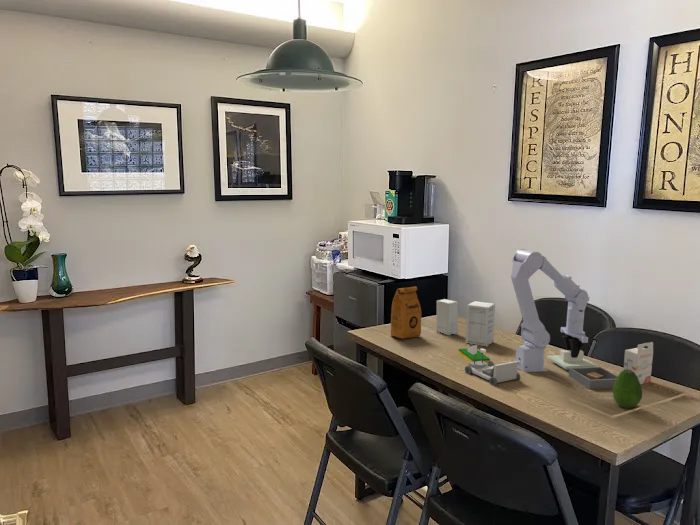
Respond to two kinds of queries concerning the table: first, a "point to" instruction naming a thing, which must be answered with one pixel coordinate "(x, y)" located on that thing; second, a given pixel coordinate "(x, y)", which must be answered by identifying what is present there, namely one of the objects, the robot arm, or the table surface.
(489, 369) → the toy car
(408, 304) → the coffee package
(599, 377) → the walnut block
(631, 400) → the avocado
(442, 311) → the skincare box
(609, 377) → the storage box
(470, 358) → the dish sponge
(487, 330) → the supplement box
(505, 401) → the table surface
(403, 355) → the table surface
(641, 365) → the ink cartridge box
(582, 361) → the lid
